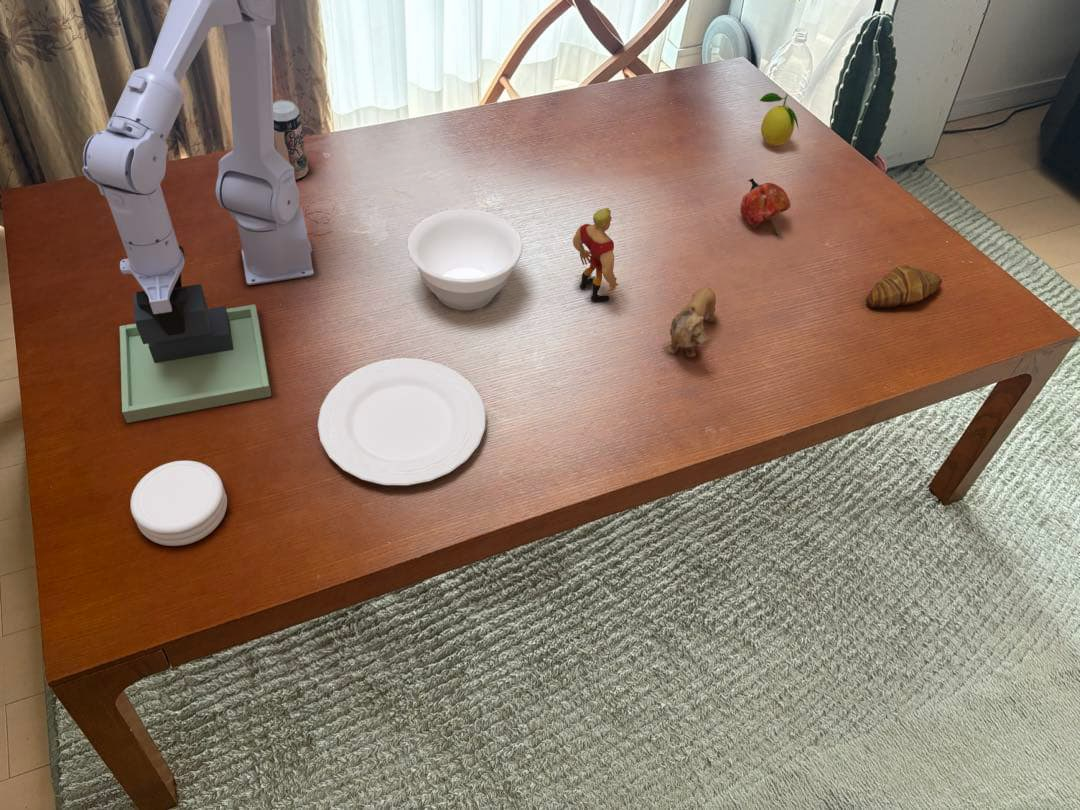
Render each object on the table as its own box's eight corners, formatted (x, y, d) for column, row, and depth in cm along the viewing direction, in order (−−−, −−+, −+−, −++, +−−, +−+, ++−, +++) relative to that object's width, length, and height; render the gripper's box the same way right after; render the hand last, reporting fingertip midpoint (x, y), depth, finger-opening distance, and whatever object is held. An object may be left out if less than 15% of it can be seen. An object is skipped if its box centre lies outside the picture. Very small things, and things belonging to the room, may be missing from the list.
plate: (345, 515, 108) (343, 506, 106) (301, 390, 120) (299, 380, 118) (510, 464, 114) (511, 454, 112) (452, 350, 126) (452, 340, 125)
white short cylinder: (118, 530, 104) (109, 512, 102) (172, 465, 111) (165, 447, 108) (194, 560, 103) (187, 543, 100) (244, 492, 109) (239, 474, 106)
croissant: (920, 271, 143) (933, 246, 139) (950, 299, 139) (964, 274, 135) (851, 293, 139) (861, 267, 135) (879, 322, 135) (891, 297, 131)
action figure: (621, 308, 134) (635, 224, 122) (600, 316, 132) (613, 232, 121) (585, 269, 139) (595, 186, 127) (565, 277, 137) (574, 193, 126)
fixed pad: (229, 322, 126) (225, 305, 124) (233, 349, 123) (229, 333, 121) (152, 334, 124) (146, 318, 122) (154, 363, 121) (148, 347, 118)
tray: (258, 315, 128) (255, 304, 127) (271, 396, 119) (268, 385, 117) (123, 337, 124) (119, 325, 123) (126, 423, 115) (121, 412, 113)
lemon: (750, 134, 166) (763, 83, 158) (782, 134, 166) (796, 83, 159) (760, 156, 161) (774, 104, 154) (792, 155, 162) (808, 104, 154)
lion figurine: (697, 379, 125) (710, 331, 118) (659, 369, 126) (670, 321, 119) (717, 309, 135) (730, 262, 128) (681, 300, 135) (692, 252, 129)
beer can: (302, 183, 149) (291, 117, 140) (274, 178, 149) (261, 112, 140) (313, 167, 152) (303, 101, 143) (285, 162, 152) (273, 96, 143)
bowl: (387, 288, 133) (382, 241, 127) (466, 240, 142) (466, 194, 135) (464, 345, 127) (463, 298, 120) (542, 291, 135) (546, 245, 129)
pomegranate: (785, 234, 151) (763, 177, 150) (809, 222, 144) (785, 162, 143) (747, 249, 149) (724, 191, 149) (769, 238, 142) (745, 177, 142)
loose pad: (207, 307, 119) (200, 283, 116) (210, 333, 116) (203, 310, 113) (142, 317, 117) (133, 293, 114) (143, 344, 114) (134, 321, 111)
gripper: (108, 196, 109) (139, 284, 119) (109, 276, 100) (142, 363, 110) (171, 189, 110) (196, 275, 121) (177, 266, 101) (204, 353, 112)
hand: (174, 317), depth 115 cm, fingers closed on loose pad, 5 cm apart
